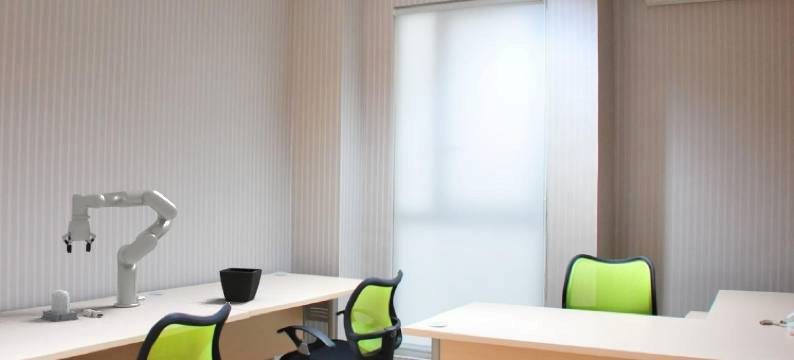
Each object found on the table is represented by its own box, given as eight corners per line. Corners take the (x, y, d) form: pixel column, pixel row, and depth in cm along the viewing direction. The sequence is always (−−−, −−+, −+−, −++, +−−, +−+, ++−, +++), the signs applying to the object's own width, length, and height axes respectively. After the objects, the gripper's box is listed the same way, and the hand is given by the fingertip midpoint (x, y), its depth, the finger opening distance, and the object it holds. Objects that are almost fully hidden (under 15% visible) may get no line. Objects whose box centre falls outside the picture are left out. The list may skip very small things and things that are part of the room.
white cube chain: (90, 313, 349) (90, 308, 349) (103, 317, 341) (103, 312, 341) (82, 314, 346) (82, 309, 346) (95, 318, 338) (95, 313, 338)
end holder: (62, 315, 344) (62, 308, 344) (78, 319, 334) (78, 312, 335) (41, 317, 336) (41, 311, 336) (56, 322, 327) (56, 314, 327)
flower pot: (262, 298, 410) (262, 268, 410) (252, 303, 391) (252, 271, 391) (229, 297, 412) (230, 267, 412) (218, 302, 393) (218, 270, 393)
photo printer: (71, 317, 335) (71, 290, 335) (62, 318, 331) (63, 291, 331) (58, 314, 340) (58, 288, 341) (49, 316, 337) (50, 289, 337)
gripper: (92, 217, 373) (91, 251, 373) (58, 218, 360) (58, 252, 360) (99, 218, 369) (99, 251, 368) (66, 218, 355) (65, 253, 355)
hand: (78, 252), depth 364 cm, fingers open, 9 cm apart
